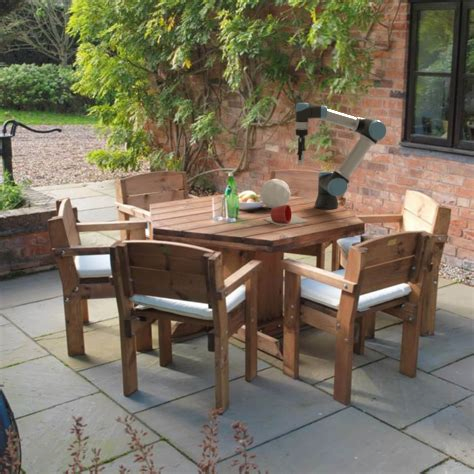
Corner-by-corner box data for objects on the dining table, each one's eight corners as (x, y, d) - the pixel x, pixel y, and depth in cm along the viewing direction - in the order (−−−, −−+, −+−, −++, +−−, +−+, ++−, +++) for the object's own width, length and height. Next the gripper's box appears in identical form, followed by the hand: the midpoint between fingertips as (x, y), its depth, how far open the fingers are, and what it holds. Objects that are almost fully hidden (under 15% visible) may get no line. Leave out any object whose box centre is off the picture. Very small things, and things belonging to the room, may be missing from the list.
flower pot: (277, 222, 436) (292, 221, 432) (270, 224, 426) (285, 224, 422) (275, 204, 434) (290, 203, 430) (268, 206, 425) (284, 205, 420)
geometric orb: (278, 216, 475) (294, 191, 477) (281, 212, 455) (297, 185, 457) (253, 201, 475) (269, 176, 477) (255, 196, 455) (271, 170, 457)
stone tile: (291, 215, 448) (291, 214, 448) (308, 222, 433) (308, 220, 433) (263, 219, 438) (263, 218, 438) (279, 225, 423) (279, 224, 423)
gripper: (297, 126, 455) (297, 159, 461) (293, 131, 432) (292, 166, 438) (309, 126, 454) (309, 159, 460) (305, 131, 430) (305, 167, 436)
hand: (301, 163), depth 449 cm, fingers open, 13 cm apart
